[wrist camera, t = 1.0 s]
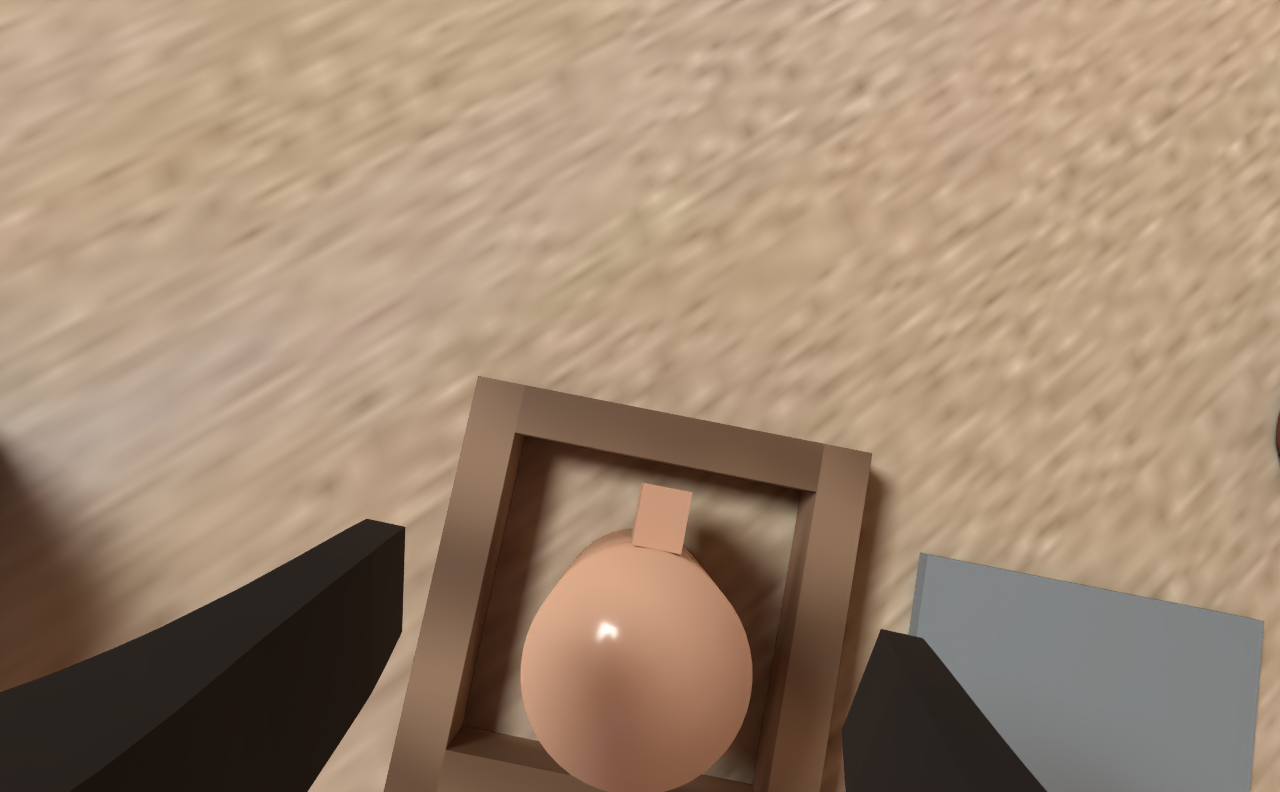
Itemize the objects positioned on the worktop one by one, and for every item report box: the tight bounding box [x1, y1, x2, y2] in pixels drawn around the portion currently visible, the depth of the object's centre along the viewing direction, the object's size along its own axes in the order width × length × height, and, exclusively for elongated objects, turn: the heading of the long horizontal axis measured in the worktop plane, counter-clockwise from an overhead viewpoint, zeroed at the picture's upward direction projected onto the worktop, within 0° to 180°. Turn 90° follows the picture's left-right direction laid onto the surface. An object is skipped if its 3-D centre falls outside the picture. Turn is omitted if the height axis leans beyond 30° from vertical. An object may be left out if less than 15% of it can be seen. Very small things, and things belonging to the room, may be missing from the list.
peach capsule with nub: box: [521, 482, 753, 792], centre depth 19 cm, size 6×5×8 cm
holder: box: [384, 376, 872, 792], centre depth 22 cm, size 12×12×2 cm
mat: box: [909, 553, 1264, 792], centre depth 22 cm, size 11×11×1 cm
